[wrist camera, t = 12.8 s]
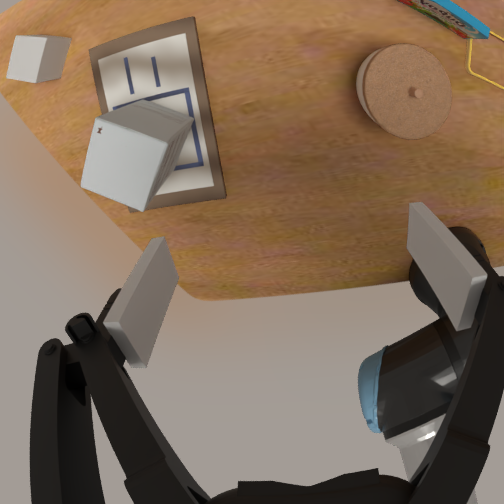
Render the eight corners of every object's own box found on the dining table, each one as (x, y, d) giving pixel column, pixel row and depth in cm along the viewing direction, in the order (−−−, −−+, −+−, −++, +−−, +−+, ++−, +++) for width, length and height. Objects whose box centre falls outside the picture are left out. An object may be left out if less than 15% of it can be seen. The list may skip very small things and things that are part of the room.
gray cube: (41, 34, 28) (15, 35, 23) (72, 38, 29) (47, 37, 24) (31, 73, 31) (5, 78, 26) (61, 78, 32) (35, 83, 27)
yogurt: (389, -4, 26) (409, -12, 20) (391, -12, 25) (412, -22, 20) (463, 38, 27) (489, 39, 22) (465, 30, 26) (491, 29, 21)
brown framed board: (226, 195, 42) (225, 199, 41) (132, 209, 43) (129, 213, 42) (194, 17, 29) (192, 16, 28) (92, 49, 30) (87, 49, 29)
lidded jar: (432, 109, 33) (471, 124, 26) (367, 138, 37) (394, 159, 29) (401, 35, 28) (438, 31, 21) (330, 63, 32) (351, 62, 24)
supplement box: (124, 150, 37) (76, 187, 26) (143, 97, 33) (94, 114, 23) (175, 170, 38) (143, 215, 28) (197, 118, 35) (168, 142, 24)
